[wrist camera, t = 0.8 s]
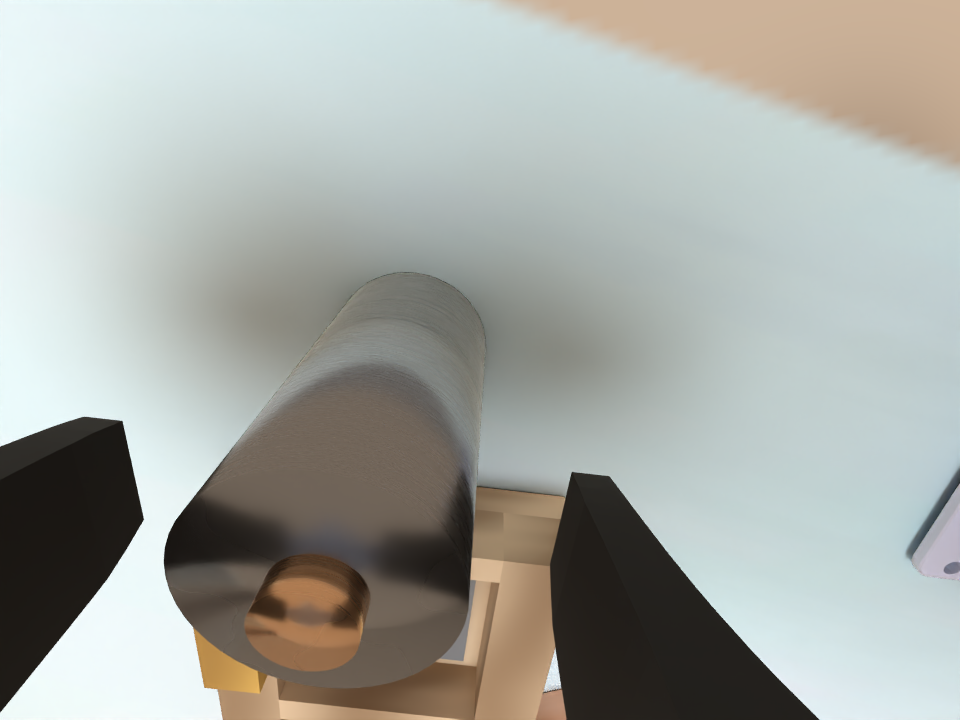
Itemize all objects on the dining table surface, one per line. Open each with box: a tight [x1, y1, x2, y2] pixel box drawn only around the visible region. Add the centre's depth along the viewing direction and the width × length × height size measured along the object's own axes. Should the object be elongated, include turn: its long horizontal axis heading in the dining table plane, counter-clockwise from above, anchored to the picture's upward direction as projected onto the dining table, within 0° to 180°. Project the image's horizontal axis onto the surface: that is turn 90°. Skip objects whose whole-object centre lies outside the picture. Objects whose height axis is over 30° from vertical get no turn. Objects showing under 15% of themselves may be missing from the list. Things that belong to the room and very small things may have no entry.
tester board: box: [193, 487, 565, 720], centre depth 18 cm, size 10×15×4 cm, turn 173°
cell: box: [164, 272, 486, 689], centre depth 10 cm, size 4×4×9 cm
